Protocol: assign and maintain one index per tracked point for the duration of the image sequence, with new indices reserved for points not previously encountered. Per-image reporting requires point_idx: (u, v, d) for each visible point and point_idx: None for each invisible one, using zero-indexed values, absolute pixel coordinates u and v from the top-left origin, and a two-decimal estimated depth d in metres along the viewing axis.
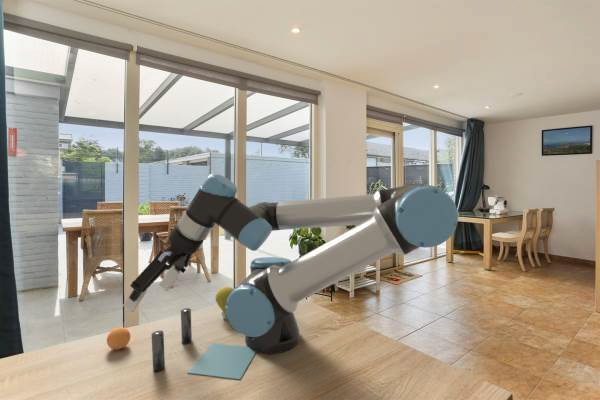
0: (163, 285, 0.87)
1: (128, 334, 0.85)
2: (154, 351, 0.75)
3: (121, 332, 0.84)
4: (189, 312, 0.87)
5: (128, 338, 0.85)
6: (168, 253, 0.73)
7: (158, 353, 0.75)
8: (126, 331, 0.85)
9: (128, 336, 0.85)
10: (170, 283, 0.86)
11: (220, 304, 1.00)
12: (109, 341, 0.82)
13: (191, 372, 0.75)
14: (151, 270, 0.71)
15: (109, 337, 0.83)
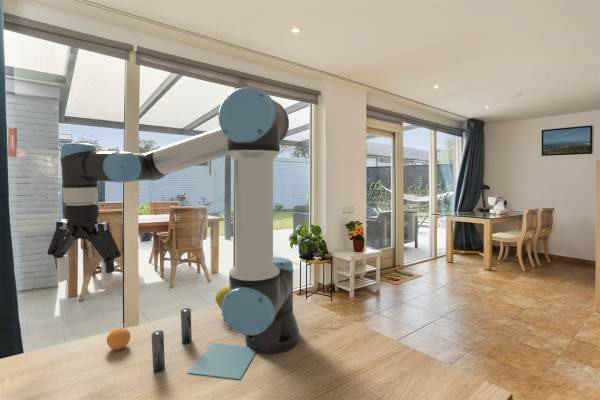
0: None
1: (128, 334, 0.85)
2: (154, 351, 0.75)
3: (121, 332, 0.84)
4: (189, 312, 0.87)
5: (128, 338, 0.85)
6: (65, 222, 0.84)
7: (158, 353, 0.75)
8: (126, 331, 0.85)
9: (128, 336, 0.85)
10: None
11: (220, 304, 1.00)
12: (109, 341, 0.82)
13: (191, 372, 0.75)
14: None
15: (109, 337, 0.83)
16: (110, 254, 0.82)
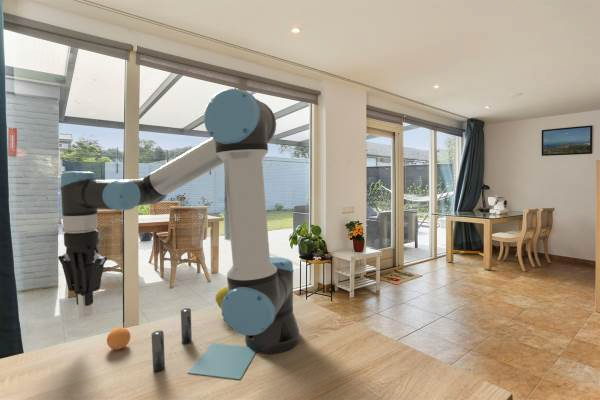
0: None
1: (128, 334, 0.85)
2: (154, 351, 0.75)
3: (121, 332, 0.84)
4: (189, 312, 0.87)
5: (128, 338, 0.85)
6: None
7: (158, 353, 0.75)
8: (126, 331, 0.85)
9: (128, 336, 0.85)
10: None
11: (220, 304, 1.00)
12: (109, 341, 0.82)
13: (191, 372, 0.75)
14: None
15: (109, 337, 0.83)
16: (90, 287, 0.84)
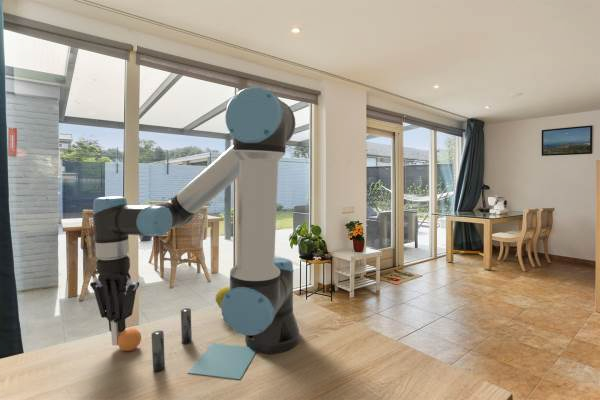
0: None
1: (139, 342, 0.85)
2: (154, 351, 0.75)
3: (136, 339, 0.83)
4: (189, 312, 0.87)
5: None
6: (97, 279, 0.84)
7: (158, 353, 0.75)
8: (140, 339, 0.85)
9: (138, 344, 0.85)
10: None
11: (220, 304, 1.00)
12: (122, 342, 0.82)
13: (191, 372, 0.75)
14: None
15: (124, 338, 0.82)
16: (123, 314, 0.83)
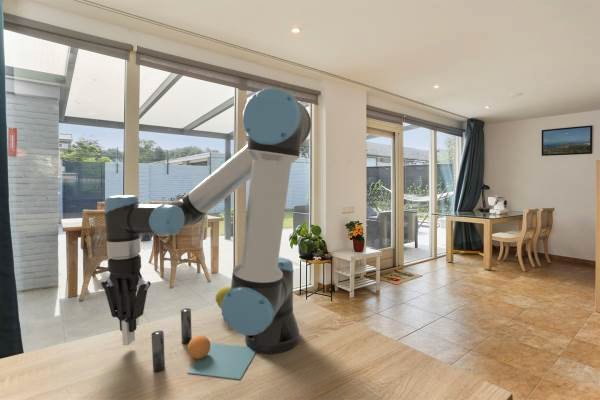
0: None
1: None
2: (154, 351, 0.75)
3: (205, 355, 0.80)
4: (189, 312, 0.87)
5: None
6: None
7: (158, 353, 0.75)
8: None
9: None
10: None
11: (220, 304, 1.00)
12: (195, 351, 0.78)
13: (191, 372, 0.75)
14: None
15: (200, 349, 0.78)
16: (135, 313, 0.82)
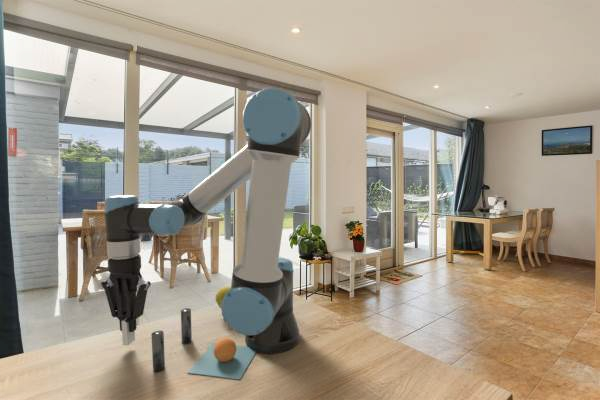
0: None
1: None
2: (154, 351, 0.75)
3: None
4: (189, 312, 0.87)
5: (220, 339, 0.80)
6: None
7: (158, 353, 0.75)
8: None
9: None
10: None
11: (220, 304, 1.00)
12: (219, 358, 0.77)
13: (191, 372, 0.75)
14: None
15: (218, 359, 0.78)
16: (135, 313, 0.82)
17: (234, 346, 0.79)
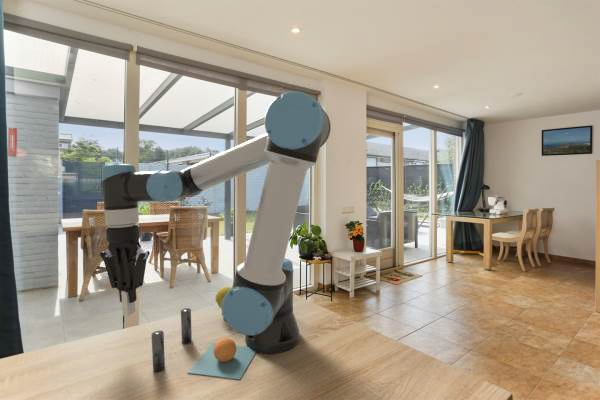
0: None
1: None
2: (154, 351, 0.75)
3: None
4: (189, 312, 0.87)
5: (220, 339, 0.80)
6: None
7: (158, 353, 0.75)
8: None
9: None
10: None
11: (220, 304, 1.00)
12: (219, 358, 0.77)
13: (191, 372, 0.75)
14: None
15: (218, 359, 0.78)
16: (134, 283, 0.81)
17: (234, 346, 0.79)
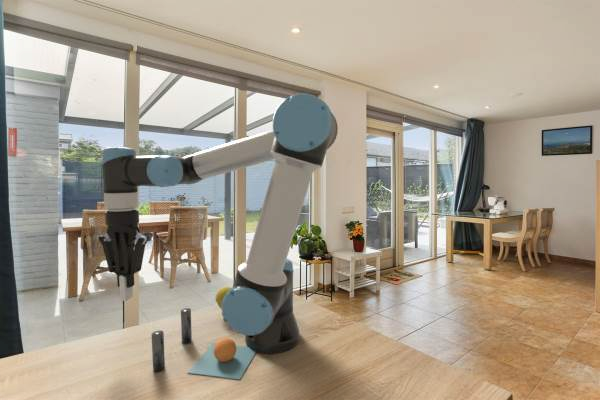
0: None
1: None
2: (154, 351, 0.75)
3: None
4: (189, 312, 0.87)
5: (220, 339, 0.80)
6: None
7: (158, 353, 0.75)
8: None
9: None
10: None
11: (220, 304, 1.00)
12: (219, 358, 0.77)
13: (191, 372, 0.75)
14: None
15: (218, 359, 0.78)
16: (132, 268, 0.81)
17: (234, 346, 0.79)
